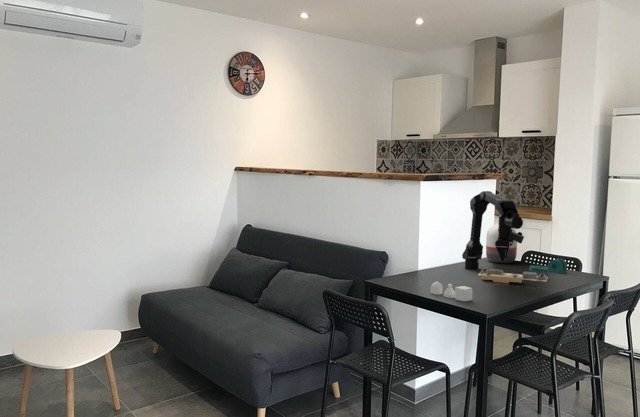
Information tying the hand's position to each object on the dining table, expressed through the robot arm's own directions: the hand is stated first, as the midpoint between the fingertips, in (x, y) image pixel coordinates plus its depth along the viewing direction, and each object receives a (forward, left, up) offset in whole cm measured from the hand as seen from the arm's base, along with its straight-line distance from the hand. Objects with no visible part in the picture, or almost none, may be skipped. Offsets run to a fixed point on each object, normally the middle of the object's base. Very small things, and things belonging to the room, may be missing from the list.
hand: (504, 259), depth 250 cm
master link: (-1, -1, -12) cm, 12 cm away
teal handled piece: (+16, +39, -12) cm, 44 cm away
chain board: (+2, +15, -12) cm, 19 cm away
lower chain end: (-8, +15, -11) cm, 20 cm away
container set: (-17, -37, -12) cm, 43 cm away
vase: (-10, +60, -12) cm, 62 cm away
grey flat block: (+12, +15, -10) cm, 22 cm away
